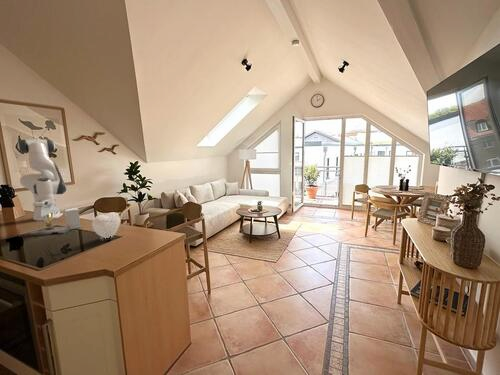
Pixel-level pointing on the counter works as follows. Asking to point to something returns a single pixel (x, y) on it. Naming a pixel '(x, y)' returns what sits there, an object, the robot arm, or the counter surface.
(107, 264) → the counter surface
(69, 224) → the skincare box
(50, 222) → the pin
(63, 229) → the bar with square hole
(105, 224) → the decorative heart
